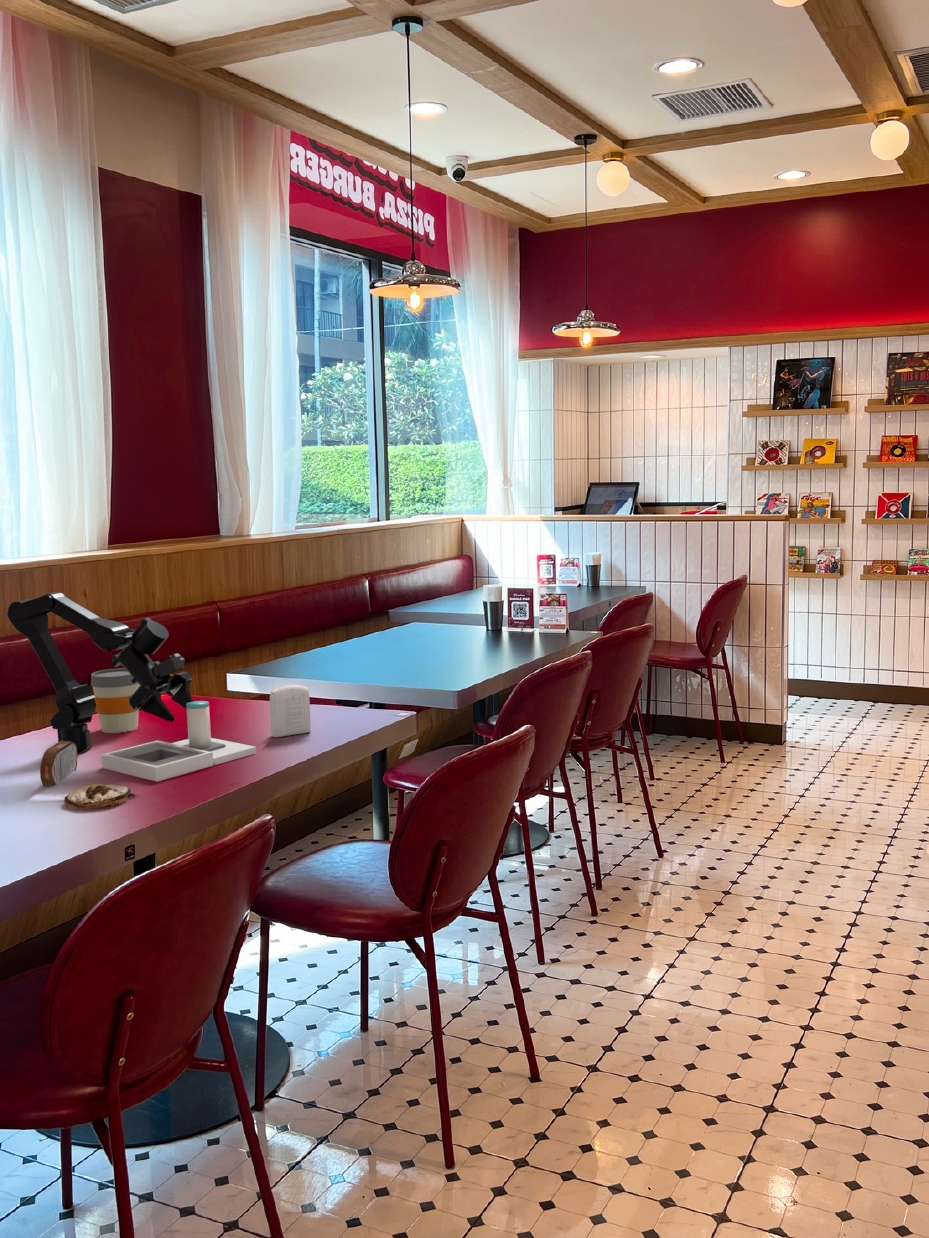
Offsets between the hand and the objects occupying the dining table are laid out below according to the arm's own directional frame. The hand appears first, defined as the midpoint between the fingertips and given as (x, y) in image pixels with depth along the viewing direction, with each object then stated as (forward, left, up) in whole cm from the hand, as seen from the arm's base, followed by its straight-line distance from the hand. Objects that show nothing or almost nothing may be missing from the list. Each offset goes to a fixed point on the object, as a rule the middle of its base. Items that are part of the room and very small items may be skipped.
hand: (185, 716), depth 255 cm
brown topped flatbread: (-8, -33, -11) cm, 36 cm away
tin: (-22, -19, -10) cm, 31 cm away
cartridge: (+3, -1, -7) cm, 8 cm away
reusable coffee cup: (-27, +30, -10) cm, 42 cm away
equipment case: (0, -6, -10) cm, 11 cm away
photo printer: (+20, +22, -10) cm, 31 cm away
